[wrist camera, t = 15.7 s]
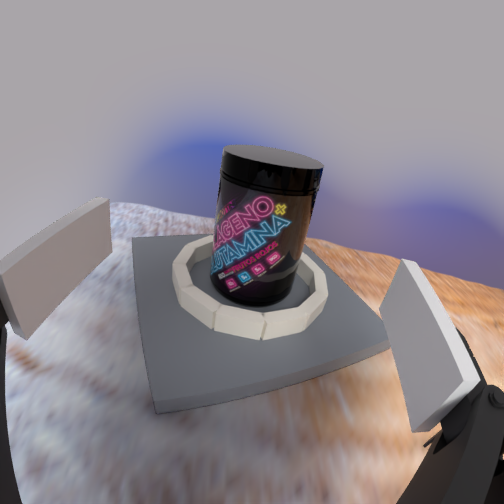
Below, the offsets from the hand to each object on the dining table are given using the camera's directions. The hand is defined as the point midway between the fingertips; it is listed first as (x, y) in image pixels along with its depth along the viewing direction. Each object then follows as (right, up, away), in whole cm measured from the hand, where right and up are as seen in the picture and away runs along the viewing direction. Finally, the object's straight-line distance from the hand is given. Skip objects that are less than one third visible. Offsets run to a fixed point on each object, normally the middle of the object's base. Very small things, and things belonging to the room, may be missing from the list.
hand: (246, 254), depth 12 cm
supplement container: (0, -3, +11) cm, 12 cm away
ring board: (0, -4, +12) cm, 13 cm away
